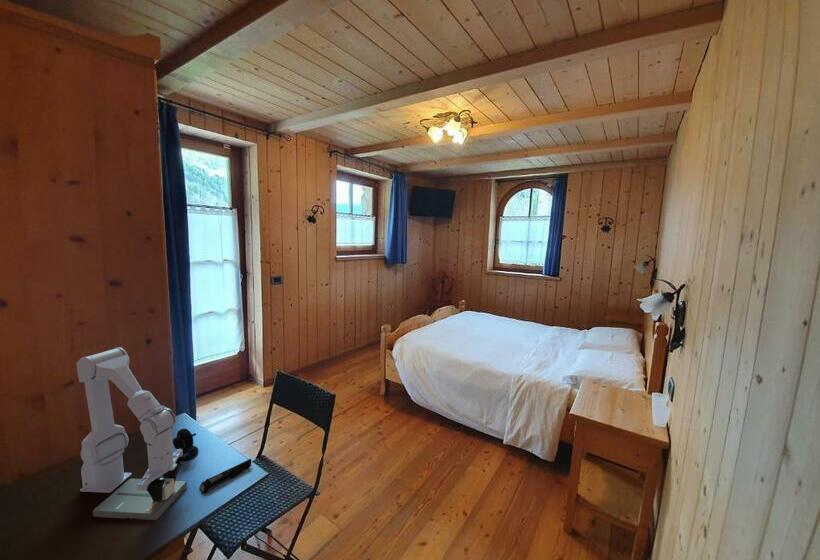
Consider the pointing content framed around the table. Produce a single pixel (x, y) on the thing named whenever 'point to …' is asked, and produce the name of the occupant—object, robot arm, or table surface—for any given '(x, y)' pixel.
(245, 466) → the electric trimmer
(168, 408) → the robot arm
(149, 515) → the console
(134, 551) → the table surface
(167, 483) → the fader
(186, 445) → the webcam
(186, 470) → the table surface
